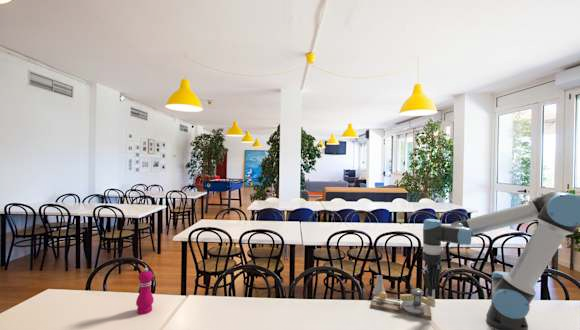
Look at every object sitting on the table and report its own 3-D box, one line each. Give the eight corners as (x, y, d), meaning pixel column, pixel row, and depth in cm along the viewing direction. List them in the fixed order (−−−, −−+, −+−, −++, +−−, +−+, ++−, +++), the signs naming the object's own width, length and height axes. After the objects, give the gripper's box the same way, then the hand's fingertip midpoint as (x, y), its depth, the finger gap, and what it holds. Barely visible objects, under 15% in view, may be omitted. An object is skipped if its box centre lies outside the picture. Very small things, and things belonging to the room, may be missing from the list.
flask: (386, 298, 157) (387, 279, 157) (372, 296, 159) (373, 277, 159) (385, 292, 164) (385, 274, 164) (371, 290, 166) (372, 273, 166)
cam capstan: (416, 299, 152) (417, 283, 152) (443, 311, 141) (443, 293, 141) (397, 307, 143) (397, 290, 143) (423, 320, 132) (424, 302, 132)
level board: (430, 308, 147) (430, 303, 147) (431, 319, 136) (431, 314, 136) (374, 297, 157) (374, 292, 157) (370, 307, 146) (371, 302, 146)
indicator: (402, 301, 150) (402, 292, 150) (401, 308, 142) (401, 298, 142) (380, 297, 154) (380, 288, 154) (378, 303, 147) (378, 294, 147)
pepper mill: (132, 312, 135) (133, 268, 135) (146, 305, 142) (147, 264, 142) (142, 316, 132) (143, 271, 132) (156, 309, 138) (157, 266, 138)
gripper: (432, 248, 145) (432, 296, 145) (416, 252, 138) (415, 302, 139) (447, 252, 139) (446, 302, 139) (431, 257, 132) (430, 309, 132)
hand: (431, 302), depth 139 cm, fingers closed
